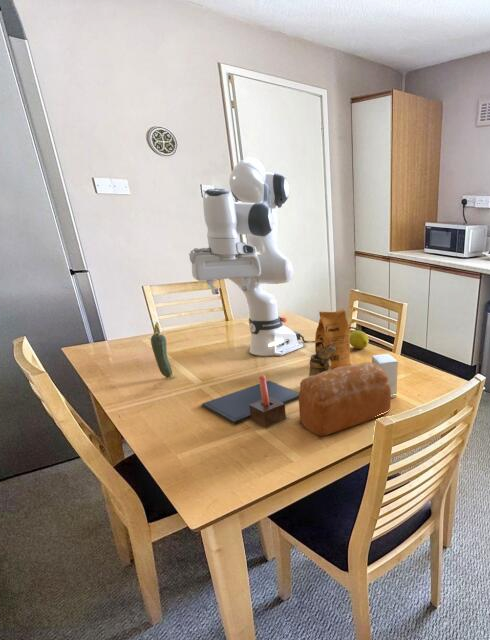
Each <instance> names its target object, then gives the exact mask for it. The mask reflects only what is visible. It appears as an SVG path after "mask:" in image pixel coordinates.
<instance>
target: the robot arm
mask: <svg viewBox="0 0 490 640" xmlns="http://www.w3.org/2000/svg"><path fill="white" fill-rule="evenodd" d="M229 189H230V190H228V189H225V188H209V189H206V190H204V192H203V197H202V204H203V205H202V207H203V217H204V223H205V225H206V227H207V228H206V229H207V234H206V236H207V243H208V247H201V248H199V247H194V248H193V249H192V250H190V251H189V254H188V255H189V261H190V263H191V273H192V275H191V276H192V277H193V279H195V280H196V281H199V282H203V281H206V284H207V286H209V288H210V289H211V290H210V291H211V294H212V295H219V288H218V287H215V285H214V281H216V280H229V281H230V282H233V283H234V284H235V285H236V286H237V287H238V288H239V289H240V290H241V292H242V293H243V295H244V297H245V299H246V303H247V309H248V314H249V317H248V325H249V330H250V346H249V350H248V351H249V353H250V354H252V355H255V356H261V357H262V356H263V357H268V356H275V357H276V356H277V357H280V356H284V355H287V354H289V353H291V352H294V351H296V350H298V349H300V348H303V347H304V344H303V342H304V343H309V340H308V341H307V340H305V338H304V336H303V335H302V334H301V333H300V332H297V331H295V330H292V329H291V328H289V327H288V326H285V325H284V324H283V323H287V322H288V319H287V317H284V316H282V317H281V316H279V309H278V300H277V299H276V297H275V296H274V294H272V293H270V292H267V291H266V290H265V289H264V288H263V287H262V284H263V285H281V284H287V283H290V282H291V281H292V279H293V278H294V273H295V270H294V269H295V268H294V265H293V263H292V261H291V260H290V259H289V258H288V257H286V256H285V255H284V254H283V253H282V252H281V251H280V248H279V246H278V245H279V244H278V233H279V217H278V210H277V208H278V209H280V208H283V207H282V206H283V205H284V204H285V203H286V202H287V201H288V199H289V195H290V186H289V183H288V180H287V177H286V176H285V175H284V174H281V173H278V172H274V173H273V172H267V171H266V169H265V167H264V165H263V164H262V163H261V161H259V160H258V159H256V158H254V157H244V158H242V159H241V160H240V161H239V162H237V164H235V166H234V167H233V170H232V171H231V173H230V175H229ZM234 198H235V200H236V201H234ZM240 235H246V237H247V243H246V242H243V241H240ZM256 253H258V254H256ZM350 329H351V330H352V329H354V330H355V331H359V329H358V328H357V327H354V326H349V330H350ZM301 341H302V342H301ZM312 343H315V340H314V341H312Z"/></svg>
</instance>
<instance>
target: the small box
mask: <svg viewBox="0 0 490 640" xmlns="http://www.w3.org/2000/svg"><path fill="white" fill-rule="evenodd" d="M371 363H373V364H376V365H377V366H378V367H380V368H381V369H382V370H383V371H384V372H385V373H386V374H387V376H388V382H389V385H390V391H391V395H392V396H391V397H390V399H393V398H397V395H398V394H397V393H398V391H397V390H398V366H399V361H398V360H397V359H395V358H394V357H393V356H392V355H391V354H389V353H384V354H374V355H371ZM393 394H397V395H393Z"/></svg>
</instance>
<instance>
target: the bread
mask: <svg viewBox="0 0 490 640" xmlns="http://www.w3.org/2000/svg"><path fill="white" fill-rule="evenodd" d="M299 388H300V390H299V392H298V393H299V394H298V396H299V398H298V409H299V410H298V411H299V414H298V415H299V422H300V423H301V424H302V425H303V427H305V429H307V430H308V431H310V433H313V434H315V435H317V436H318V437H324V436H325V437H326V436H328V435H331V434H334V433H338V432H341V431H343V430H347V429H348V428H351V427H353V426H356V425H359V424H362V423H365V422H367V421H370V420H373V419H376V418H379V417H382V416H385V415H387V414H388V413H389V412H390V411H391V398H390V397H391V391H390V385H389V382H388V376H387V374H386V373H385V372H384V371H383V370H382V369H381V368H380V367H378V366H377V365H376V364H373V363H372V362H370V361H365V362H361V363H356V364H355V363H354V364H350V365H347V366H342V367H337V368H333V369H331V370H328V371H324V372H322V373H319V374H317V375H315V376H309V375H308V376H306V377H304V378H302V379H301V381H300V382H299ZM389 409H390V410H389ZM388 410H389V411H388ZM386 411H388V412H387V413H384V412H386ZM381 413H384V414H381ZM379 414H381V415H379ZM377 415H379V416H377ZM375 416H376V417H375Z"/></svg>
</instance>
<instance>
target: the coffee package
mask: <svg viewBox="0 0 490 640" xmlns="http://www.w3.org/2000/svg"><path fill="white" fill-rule="evenodd" d="M318 315H319V321H318V324H317V327H316V332H315V337H314V341H315V342H314V345H315V346H314V350H315V354H318V353H319V351H320V350H321V349H322V348H324V347H326V346H328V345H332V346H335V347H336V351H335V353H334V355H333V356H332V357H331V358H330V362H331V366H330V368H331V370H332V369H334V368H337V367H342V366H348V365H351V344H350V329H349V327H350V325H349V322H348V319H347V318H348V317H347V313H346V309H345V308H342V309H339V310H336V311H319V314H318Z"/></svg>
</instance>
